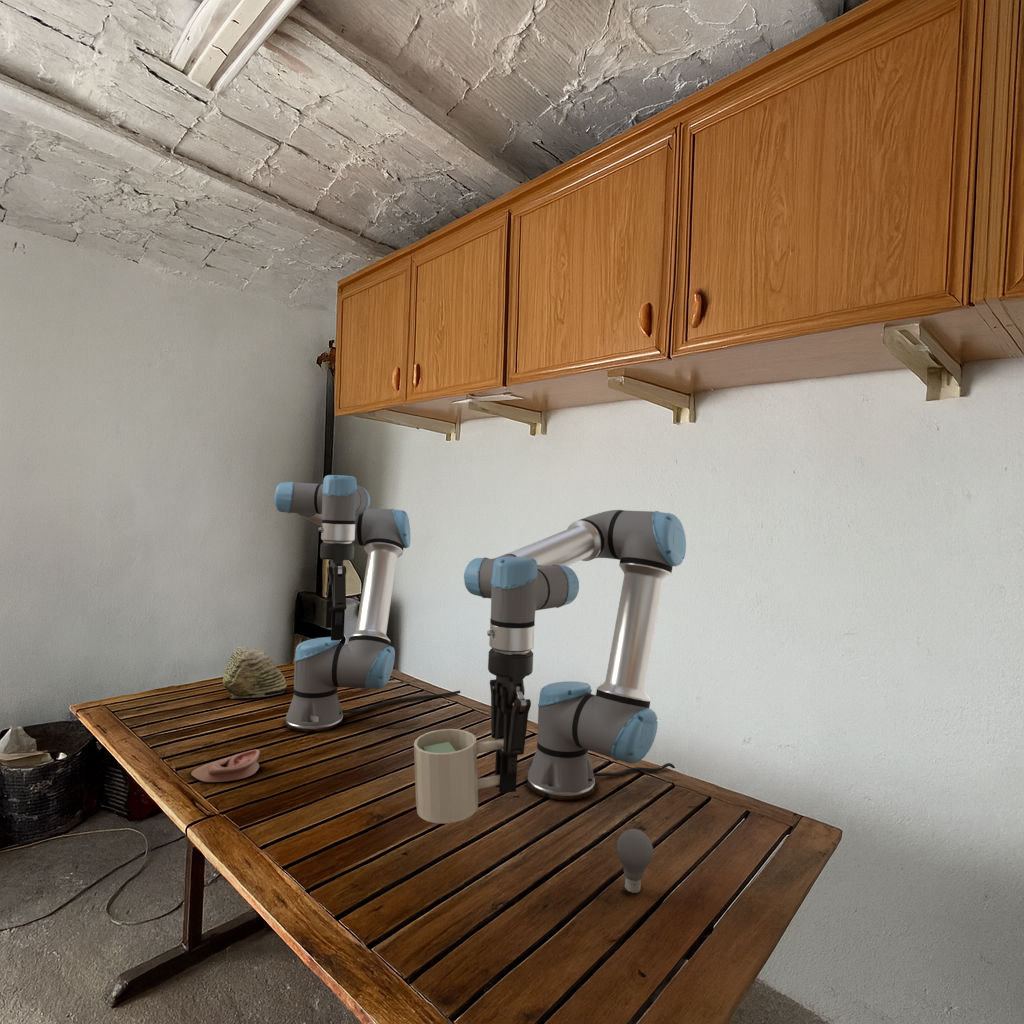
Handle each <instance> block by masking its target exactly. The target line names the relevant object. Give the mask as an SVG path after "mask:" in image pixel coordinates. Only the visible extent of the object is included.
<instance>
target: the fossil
mask: <svg viewBox="0 0 1024 1024" xmlns="http://www.w3.org/2000/svg"><path fill="white" fill-rule="evenodd" d="M222 676H223V677H222V685H223V687H224V688H225V690H226V691H228V693H229V698H230V699H250V698H264V697H271V696H275V695H281V694H284V693H285V691H286V689H287V687H288V686H287V680H286V678H285V676H284V674H283V673H282V672H281V669H279V668H278V667H277V665H276V663H275V662H274V660H273V659H272V658H271V657H270V656H269V655H268V654H267V653H266V652H265V650H264V649H263V648H260V647H258V648H251V647H247V646H246V647H245V646H238V647H237V648H236V649H235V650H233V651H232V653H231V656H230V657H229V659H228V660H227V663H226V666H225V668H224V671H223V675H222Z"/></svg>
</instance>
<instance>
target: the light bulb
mask: <svg viewBox="0 0 1024 1024" xmlns="http://www.w3.org/2000/svg"><path fill="white" fill-rule="evenodd" d="M615 849H616V854H617V857H618V859H619V861H620V863H621V865H622V867H623V873H624V874H623V875H624V876H625V878H624V888H625V890H627V891H628V892H630V893H634V894H635V893H639V892H640V891H641V889H642V887H641V886H642V879H643V877H644V875H645V871H646V868H647V867H648V866H649V864H650V863H651V861H652V859H653V855H654V847H653V843H652V841H651V838H649V836H648V835H647V834H646V833H645V832H643V831H642V830H641V829H636V828H629V829H627V830H625V831H623V832H622V833H621V834H620V835H619V837H618V839H617V841H616V847H615Z"/></svg>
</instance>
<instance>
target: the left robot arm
mask: <svg viewBox="0 0 1024 1024" xmlns="http://www.w3.org/2000/svg"><path fill="white" fill-rule="evenodd" d="M273 498H274V499H273V501H274V506H275V509H276V510H277V511H278V512H279V513H285V514H286V513H287V514H297V515H299V516H302V517H303V518H305V519H307V520H308V521H310V522H312V523H314V524H315V525H317V526H319V527H318V532H321V533H320V534H321V535H320V539H321V541H322V542H321V543H320V548H319V549H320V551H319V556H320V557H319V558H320V559H322V560H325V561H327V564H328V566H326V574H327V575H326V590H325V599H326V601H325V602H326V603H325V626H324V627H325V629H329V628H330V636H324V637H315V638H312V639H307V640H304V641H302V642H300V643H298V644H297V645H296V648H295V655H294V659H293V662H294V672H293V695H292V696H293V697H292V699H291V702H290V704H289V708H288V711H287V713H286V715H285V726H286V728H287V729H289V730H291V731H294V732H295V731H296V732H301V733H316V732H325V731H329V730H332V729H335V728H337V727H339V726H340V725H342V723H343V722H344V714H359V713H364V712H367V711H370V710H372V709H375V708H379V707H382V706H386V705H390V704H394V703H401V702H406V701H415V700H423V699H433V698H441V697H447V696H453V695H458V694H461V690H455V691H449V692H443V693H434V694H426V695H417V696H408V697H401V698H396V699H391V700H386V701H382V702H378V703H375V704H372V705H369V706H367V707H363V708H359V709H342V706H341V702H340V699H339V695H338V688H346V689H347V688H348V689H364V690H365V689H366V690H380V689H383V688H384V687H385V686H386V685H387V684H388V683H389V681H390V678H391V677H392V676H391V675H392V673H393V670H394V666H395V657H396V650H395V647H393V646H391V640H390V638H389V637H388V636H387V631H388V624H389V617H390V611H391V602H392V596H393V591H394V589H393V588H394V581H395V575H396V569H397V568H396V567H397V561H398V558H400V557H402V556H403V554H404V549H408V548H410V547H411V526H410V525H411V524H410V519H409V518H410V517H409V514H408V513H407V512H406V510H403V509H394V508H370V505H371V496H370V493H369V491H367V489H365V488H364V487H363V486H360V485H359V484H357V478H356V477H355V476H352V475H343V474H342V475H339V474H328V475H325V476H324V478H323V482H322V483H314V482H313V483H312V482H311V483H310V482H294V481H289V482H288V481H287V482H280V483H278V484H277V486H276V488H275V490H274V497H273ZM355 546H360V547H361V546H362V547H363V549H364V551H365V553H366V554H367V559H366V567H365V573H364V579H363V585H362V591H361V595H360V596H361V597H360V602H359V603H360V604H359V608H358V609H359V610H358V614H357V615H358V616H357V620H356V627H355V632H353V633H352V634H350V636H348V641H347V644H346V643H345V644H344V643H341V641H344V640H345V619H346V618H345V617H346V610H347V607H348V606H347V583H346V582H347V577H346V575H347V566H346V565H344V561H351V560H353V559H354V557H355Z"/></svg>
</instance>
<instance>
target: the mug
mask: <svg viewBox="0 0 1024 1024" xmlns="http://www.w3.org/2000/svg"><path fill="white" fill-rule="evenodd" d="M503 741H504V738H503V739H497V740H495V739H492V740H486V741H481V742H477V737H476V736H475V734H474V733H472V732H470V731H468V730H464V729H460V728H459V729H457V728H442V729H435V730H431V731H428V732H426V733H423V734H421V735H419V736H418V737H417V738H416V739H415V740H414V742H413V757H414V760H413V761H414V785H415V788H414V789H415V807H416V813H417V815H418V817H419V818H420V819H422V820H424V821H426V822H428V823H432V824H439V825H441V824H442V825H443V824H453V823H458V822H461V821H464V820H467V819H469V818H470V817H472V816H473V815H474V814H475V813H477V810H478V808H479V790H482V789H488V788H492V787H495V786H498V785H499V784H500V775H495V774H494V775H491V776H485V777H481V778H480V777H479V776H478V754H482V753H488V752H493V751H496V750H499V749H502V751H503ZM446 742H449V743H450V744H451V745H452V747H453V748H454V749H455V752H449V753H433V752H428V751H424V750H423V747H424V746H430V745H435V744H441V743H446ZM478 777H479V778H478Z"/></svg>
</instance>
